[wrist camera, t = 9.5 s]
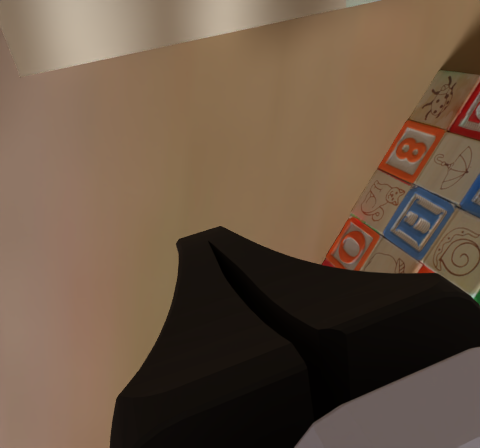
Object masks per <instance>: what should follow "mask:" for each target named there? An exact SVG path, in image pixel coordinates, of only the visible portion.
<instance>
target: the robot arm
mask: <svg viewBox="0 0 480 448" xmlns="http://www.w3.org/2000/svg"><path fill="white" fill-rule="evenodd" d="M176 246H177V249H178V253H179V266H178V276H177V282H176V287H175V292H174V297H173V300H172V304H171V307H170V310H169V313H168V316H167V319H166V321H165V323H164V326H163V328H162V330H161V333H160V335H159V337H158V339H157V341H156V343H155V345H154V347H153V348H152V350H151V352H150V353H149V355H148V357H147V358H146V360H145V362H144V363H143V365H142V367H141V368H140V369H139V371H138V372H137V373H136V375H135V376H134V377H133V378H132V380H131V381H130V382H129V383H128V385H127V386H126V387H125V388H124V390H123V391H122V392H121V393H120V394H119V395H118V397H117V399H116V404H115V409H114V415H113V421H112V428H111V437H110V448H480V305H479V304H478V303H477V302H476V301H475V300H474V299H473V298H472V297H471V296H470V295H469V294H467V293H466V292H464V291H463V290H462V289H460V288H459V287H457V286H456V285H454V284H453V283H451V282H450V281H449V280H447V279H446V278H444V277H443V276H441V275H440V274H438V273H379V272H365V271H356V270H348V269H342V268H335V267H330V266H325V265H320V264H316V263H312V262H308V261H304V260H300V259H297V258H293V257H290V256H287V255H285V254H282V253H279V252H276V251H274V250H271V249H269V248H266V247H264V246H261V245H259V244H257V243H255V242H252V241H250V240H248V239H246V238H244V237H242V236H240V235H238V234H236V233H234V232H232V231H230V230H228V229H226V228H224V227H222V226H219V227H216V228H212V229H209V230H206V231H203V232H200V233H196V234H193V235H190V236H187V237H184V238H181V239H179V240H178V241H177V243H176Z"/></svg>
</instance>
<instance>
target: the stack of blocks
mask: <svg viewBox="0 0 480 448" xmlns="http://www.w3.org/2000/svg"><path fill="white" fill-rule="evenodd" d="M322 265H325V266H330V267H335V268H342V269H348V270H356V271H365V272H379V273H438V274H440V275H441V276H443V277H444V278H446V279H447V280H449V281H450V282H451V283H453V284H454V285H456V286H457V287H459V288H460V289H462V290H463V291H464V292H466V293H467V294H469V295H470V296H471V297H472V298H473V299H474V300H475V301H476V302H477V303H478V304H479V305H480V75H476V74H468V73H461V72H453V71H444V70H439V71H438V73H437V74H436V76H435V77H434V79H433V81H432V82H431V84H430V86H429V87H428V89H427V90H426V92H425V94H424V95H423V97H422V99H421V100H420V102H419V103H418V105H417V107H416V108H415V110H414V112H413V113H412V115H411V116H410V118H409V120H407V121H406V122H405V124H404V126H403V127H402V129H401V131H400V132H399V134H398V135H397V137H396V139H395V140H394V142H393V144H392V145H391V147H390V149H389V150H388V152H387V154H386V155H385V157H384V158H383V160H382V162H381V163H380V165H379V167H378V169H377V170H376V172H375V173H374V175H373V176H372V178H371V179H370V181H369V183H368V184H367V186H366V188H365V189H364V191H363V193H362V194H361V196H360V197H359V199H358V201H357V203H356V204H355V206H354V207H353V209H352V211H351V216H350V218H349V219H348V220H347V222H346V223H345V226H344V227H343V229H342V231H341V233H340V234H339V236H338V237H337V239H336V241H335V242H334V244H333V246H332V247H331V249H330V251H329V252H328V254H327V256H326V259H325V261H324V262H323V263H322Z"/></svg>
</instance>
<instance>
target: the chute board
mask: <svg viewBox="0 0 480 448" xmlns="http://www.w3.org/2000/svg"><path fill="white" fill-rule="evenodd" d="M375 1H380V0H0V28H1V30H2V33H3V35H4V38H5V40H6V43H7V45H8V48H9V51H10V53H11V56H12V58H13V61H14V63H15V66H16V68H17V71H18V74H19V76H20V77H24V76H29V75H33V74H38V73H43V72H47V71H52V70H57V69H62V68H66V67H71V66H76V65H80V64H85V63H90V62H94V61H99V60H104V59H108V58H113V57H118V56H122V55H127V54H132V53H136V52H141V51H146V50H150V49H155V48H160V47H165V46H169V45H174V44H179V43H183V42H188V41H193V40H197V39H202V38H207V37H211V36H216V35H221V34H225V33H230V32H235V31H239V30H244V29H249V28H253V27H258V26H263V25H268V24H272V23H277V22H282V21H286V20H291V19H296V18H300V17H305V16H310V15H314V14H319V13H324V12H328V11H333V10H338V9H342V8H347V7H352V6H356V5H361V4H366V3H370V2H375Z"/></svg>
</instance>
